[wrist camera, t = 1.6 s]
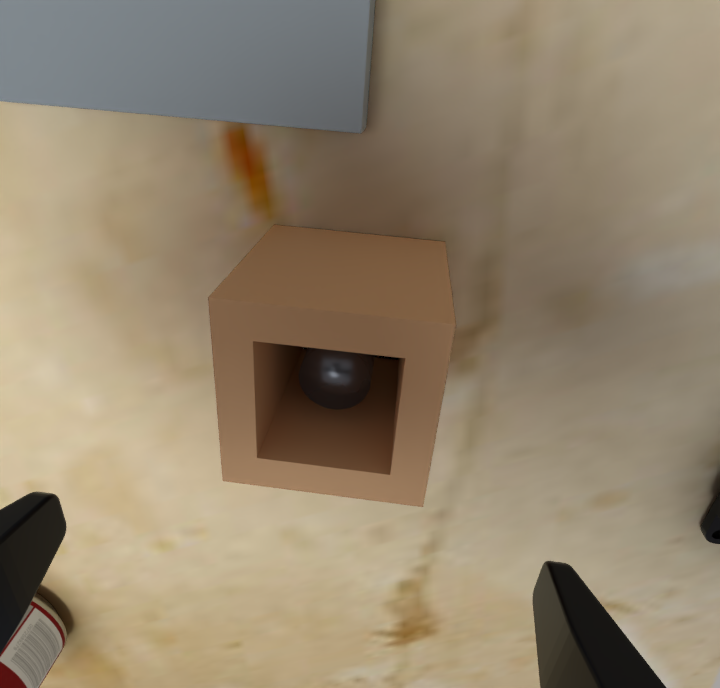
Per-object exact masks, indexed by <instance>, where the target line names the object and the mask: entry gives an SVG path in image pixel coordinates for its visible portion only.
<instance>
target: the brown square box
mask: <svg viewBox="0 0 720 688" xmlns="http://www.w3.org/2000/svg"><path fill="white" fill-rule="evenodd" d="M208 301H209V314H210V326H211V339H212V351H213V364H214V377H215V389H216V402H217V414H218V427H219V440H220V452H221V465H222V477H223V481H227V482H235V483H243V484H250V485H258V486H266V487H273V488H281V489H289V490H296V491H304V492H312V493H319V494H327V495H335V496H342V497H350V498H358V499H365V500H373V501H381V502H389V503H396V504H404V505H412V506H419V507H423V504H424V499H425V493H426V488H427V482H428V477H429V471H430V466H431V460H432V454H433V449H434V443H435V438H436V432H437V427H438V421H439V416H440V410H441V405H442V399H443V394H444V388H445V383H446V377H447V372H448V366H449V361H450V355H451V350H452V344H453V339H454V333H455V328H456V321H455V313H454V306H453V298H452V290H451V283H450V275H449V268H448V260H447V253H446V245H445V242H442V241H432V240H422V239H412V238H403V237H393V236H383V235H373V234H363V233H353V232H343V231H333V230H323V229H313V228H303V227H293V226H283V225H273V226H272V228H271V229H270V230H269V231H268V232H267V233H266V234H265V235H264V236H263V238H262V239H261V240H260V241H259V242H258V243H257V244H256V245H255V246H254V247H253V249H252V250H251V251H250V252H249V253H248V254H247V255H246V256H245V257H244V259H243V260H242V261H241V262H240V263H239V264H238V265H237V266H236V267H235V269H234V270H233V271H232V272H231V273H230V274H229V275H228V276H227V277H226V278H225V280H224V281H223V282H222V283H221V284H220V285H219V286H218V287H217V288H216V290H215V291H214V292H213V293H212V294H211V295H210V296H209V297H208ZM302 347H309V348H318V349H327V350H336V351H344V352H353V353H362V354H371V355H380V356H388V357H397V358H399V360H391V359H382V358H375V359H374V365H373V371H372V378H371V384H370V389H369V392H368V394H367V395H366V397H365V398H364V399H363V400H362V401H361V402H360V403H359V404H357V405H355V406H353V407H351V408H347V409H339V410H336V409H328V408H325V407H322V406H320V405H318V404H316V403H314V402H313V401H312V400H310V399H309V398H308V397H307V396H306V395H305V393H304V392H303V390H302V388H301V386H300V383H299V370H300V367H301V364H302V361H303V359H304V356H305V354H306V351H307V350H303V349H302Z"/></svg>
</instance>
